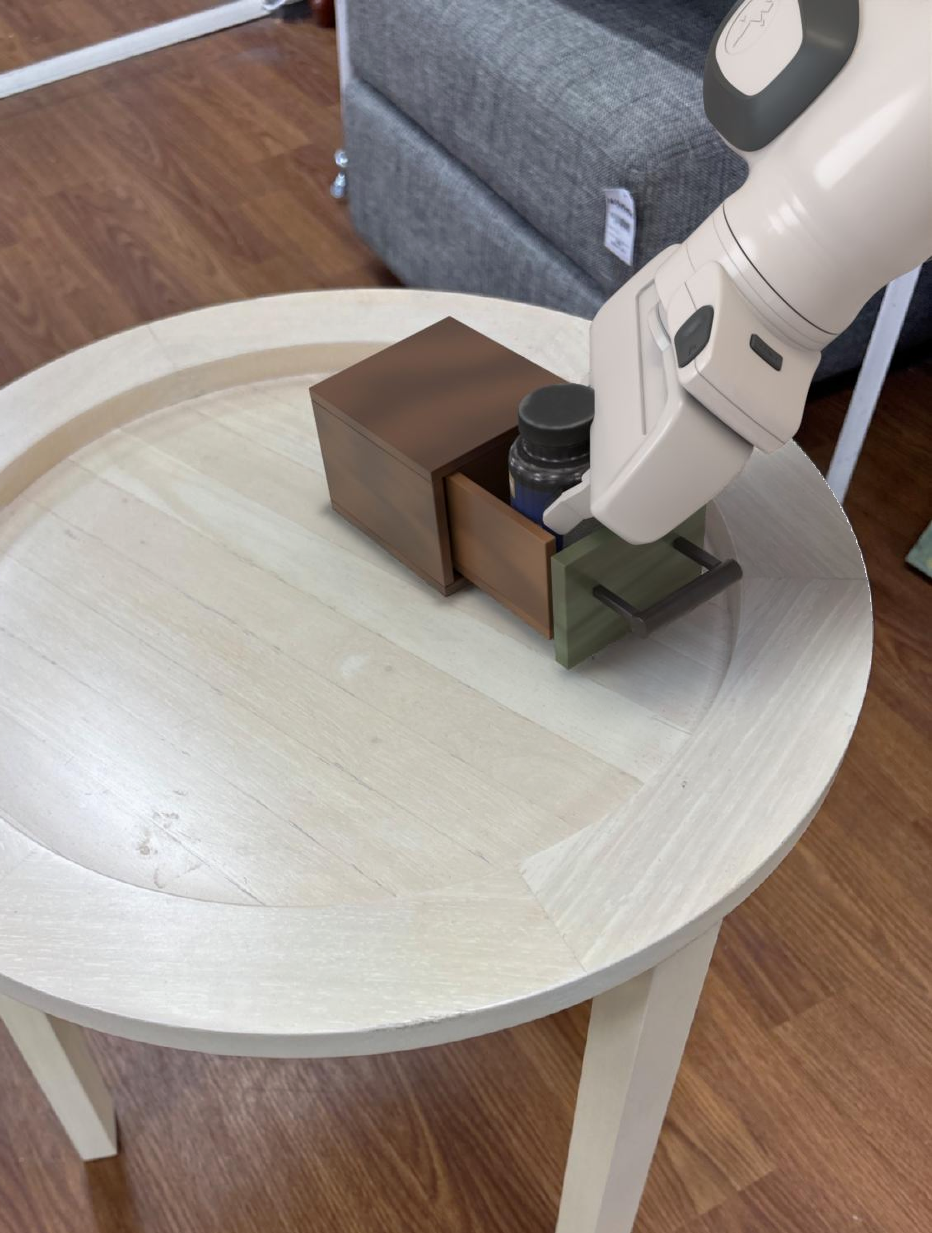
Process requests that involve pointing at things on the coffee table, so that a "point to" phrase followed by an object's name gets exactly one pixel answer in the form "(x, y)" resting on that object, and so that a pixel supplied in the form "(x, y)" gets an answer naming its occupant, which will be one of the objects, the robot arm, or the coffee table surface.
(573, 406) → the pill bottle
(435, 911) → the coffee table surface
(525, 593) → the drawer
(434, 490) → the cabinet
